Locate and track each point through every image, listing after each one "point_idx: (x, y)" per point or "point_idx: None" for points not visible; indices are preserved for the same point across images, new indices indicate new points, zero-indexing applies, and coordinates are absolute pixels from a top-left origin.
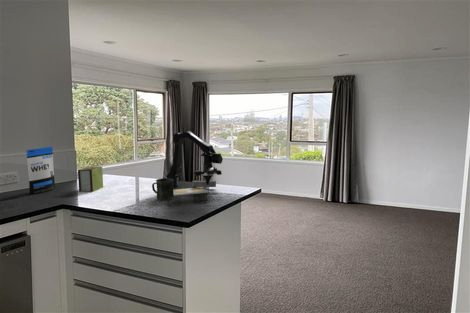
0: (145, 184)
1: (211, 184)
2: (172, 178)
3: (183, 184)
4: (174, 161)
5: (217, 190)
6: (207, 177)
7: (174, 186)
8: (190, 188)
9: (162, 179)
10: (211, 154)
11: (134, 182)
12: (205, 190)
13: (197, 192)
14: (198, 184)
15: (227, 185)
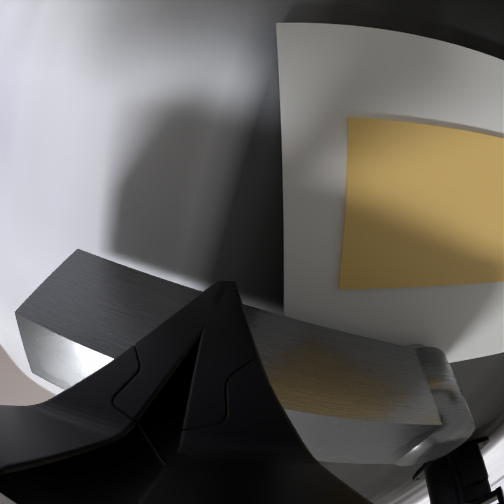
0: (499, 471)
1: (130, 305)
2: (500, 489)
3: (363, 485)
4: None
5: (86, 154)
6: (190, 460)
7: (464, 445)
8: (461, 350)
9: None
10: None
11: (493, 486)
12: (334, 104)
13: (497, 60)
14: (392, 377)
15: (12, 355)
